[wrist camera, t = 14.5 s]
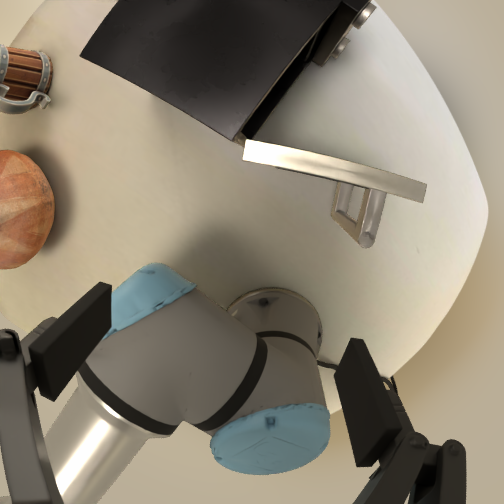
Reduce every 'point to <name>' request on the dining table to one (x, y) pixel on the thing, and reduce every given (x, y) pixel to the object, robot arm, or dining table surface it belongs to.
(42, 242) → the jug
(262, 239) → the dining table surface
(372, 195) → the microwave door
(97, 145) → the dining table surface
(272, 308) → the robot arm
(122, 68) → the microwave
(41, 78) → the mug
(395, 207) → the dining table surface
